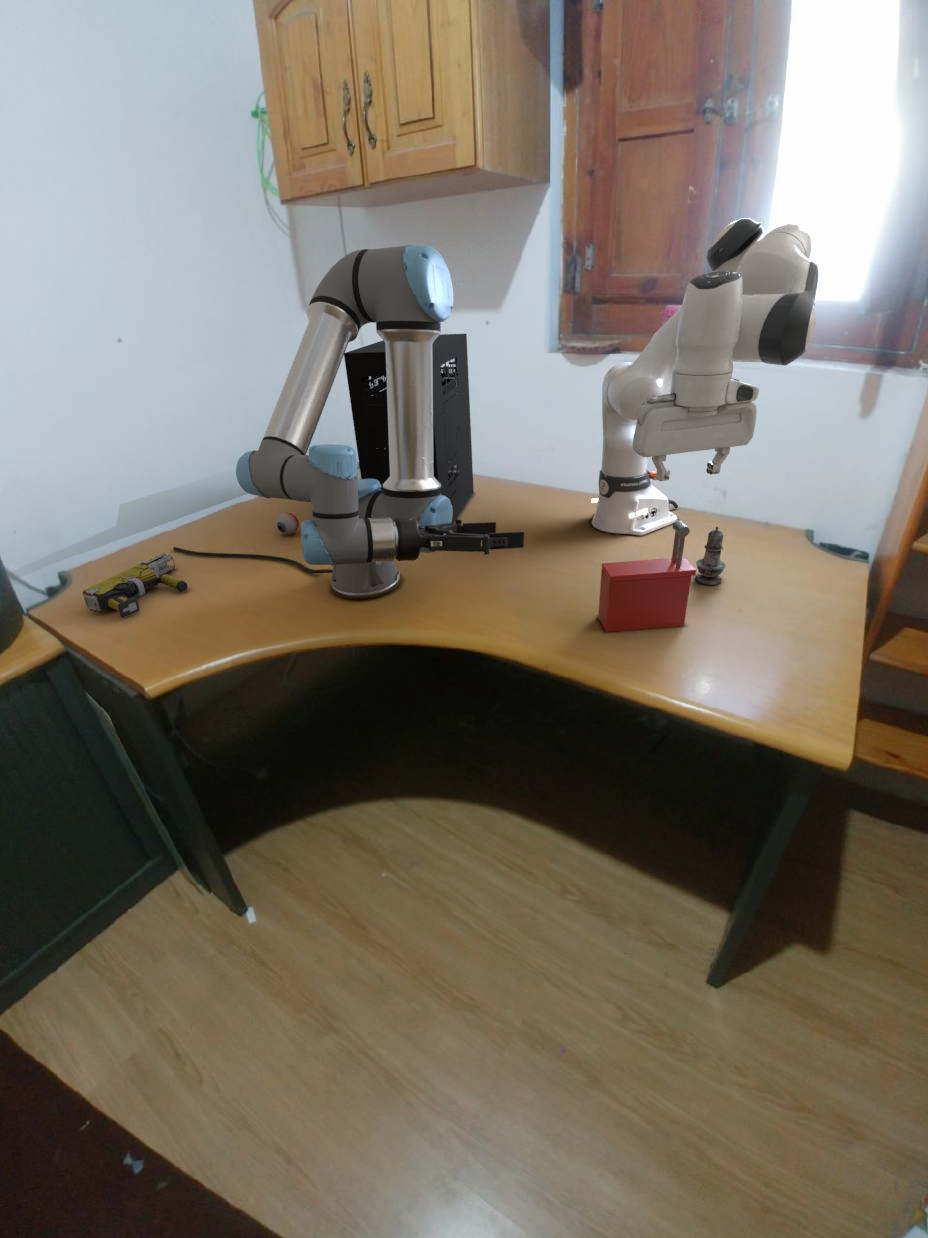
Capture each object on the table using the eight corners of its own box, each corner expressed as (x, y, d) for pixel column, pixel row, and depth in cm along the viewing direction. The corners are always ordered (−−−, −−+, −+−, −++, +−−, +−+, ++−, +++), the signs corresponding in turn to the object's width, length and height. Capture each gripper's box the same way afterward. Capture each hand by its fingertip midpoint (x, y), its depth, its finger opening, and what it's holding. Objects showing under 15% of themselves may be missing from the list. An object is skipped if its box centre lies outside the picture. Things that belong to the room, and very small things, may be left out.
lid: (683, 562, 113) (690, 516, 109) (695, 575, 109) (703, 528, 104) (601, 568, 113) (604, 522, 108) (609, 582, 108) (613, 534, 103)
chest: (672, 611, 119) (679, 563, 113) (683, 625, 114) (691, 576, 109) (598, 617, 118) (601, 569, 113) (606, 632, 113) (609, 582, 108)
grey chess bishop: (725, 585, 126) (735, 532, 120) (695, 584, 127) (704, 531, 121) (720, 573, 131) (730, 521, 125) (692, 572, 132) (700, 520, 126)
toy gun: (211, 561, 143) (160, 551, 147) (132, 605, 123) (75, 591, 127) (214, 579, 146) (164, 568, 150) (137, 625, 126) (81, 610, 130)
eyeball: (273, 537, 164) (268, 516, 161) (287, 528, 169) (282, 508, 166) (291, 539, 161) (286, 518, 158) (305, 530, 166) (301, 510, 163)
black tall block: (442, 539, 156) (428, 350, 134) (369, 536, 161) (343, 353, 138) (473, 492, 188) (466, 333, 165) (411, 491, 192) (396, 335, 170)
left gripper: (381, 549, 117) (485, 544, 123) (410, 575, 94) (535, 567, 100) (380, 510, 114) (485, 506, 121) (409, 526, 92) (537, 521, 98)
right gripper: (649, 400, 91) (640, 489, 98) (768, 387, 94) (752, 474, 101) (629, 393, 96) (622, 478, 103) (743, 382, 100) (729, 464, 107)
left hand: (508, 534), depth 110 cm, fingers open, 13 cm apart
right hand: (687, 476), depth 102 cm, fingers open, 8 cm apart
